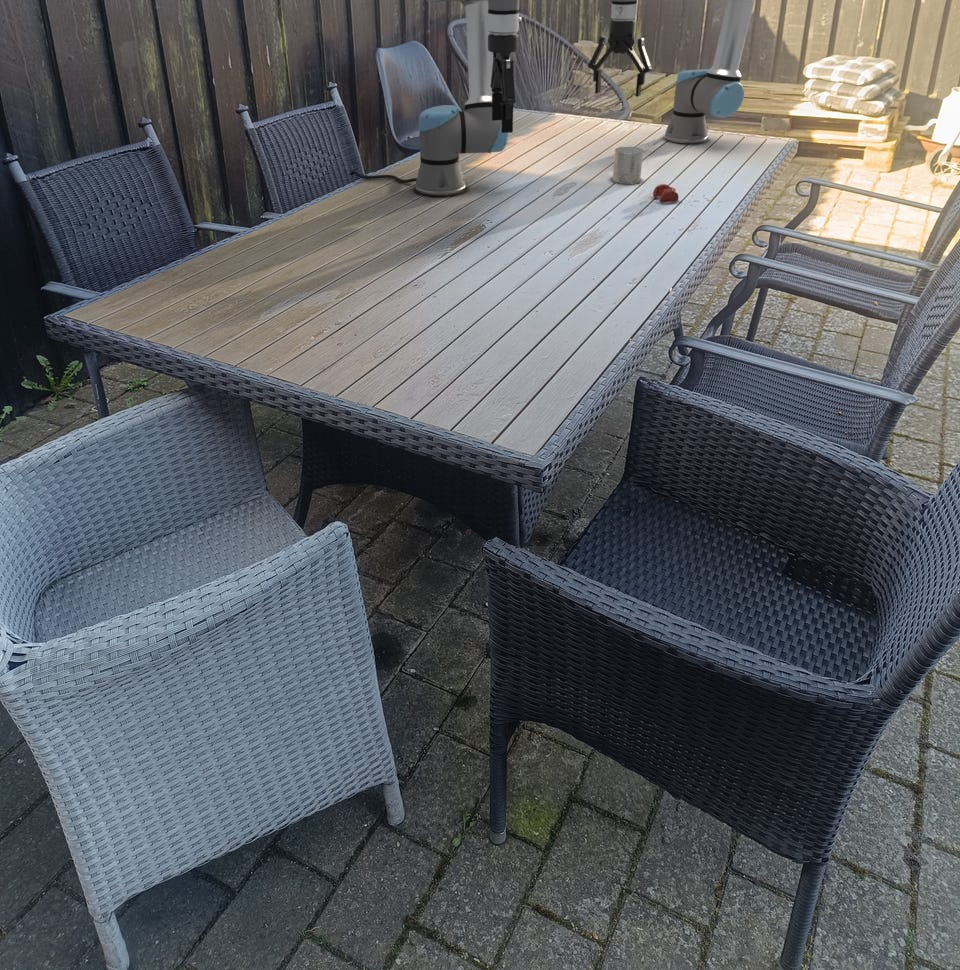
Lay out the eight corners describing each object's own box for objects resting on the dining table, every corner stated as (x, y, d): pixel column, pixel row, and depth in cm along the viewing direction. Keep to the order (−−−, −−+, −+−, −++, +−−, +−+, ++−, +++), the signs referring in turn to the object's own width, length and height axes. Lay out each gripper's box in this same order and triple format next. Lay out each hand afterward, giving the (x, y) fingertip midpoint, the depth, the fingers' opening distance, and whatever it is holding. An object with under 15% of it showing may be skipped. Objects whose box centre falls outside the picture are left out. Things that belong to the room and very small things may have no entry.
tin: (631, 185, 262) (634, 155, 256) (607, 181, 266) (610, 150, 261) (645, 179, 267) (648, 149, 262) (621, 174, 272) (623, 145, 266)
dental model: (669, 180, 251) (681, 188, 245) (668, 194, 254) (679, 202, 248) (652, 182, 250) (663, 190, 244) (650, 196, 253) (662, 204, 247)
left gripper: (529, 40, 194) (526, 137, 207) (508, 25, 214) (507, 114, 227) (497, 41, 193) (496, 138, 206) (479, 26, 213) (479, 115, 226)
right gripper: (580, 19, 260) (577, 93, 272) (658, 23, 250) (651, 99, 263) (589, 15, 265) (585, 88, 278) (666, 19, 256) (658, 94, 268)
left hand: (502, 126), depth 216 cm, fingers open, 13 cm apart
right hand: (617, 94), depth 270 cm, fingers open, 13 cm apart
